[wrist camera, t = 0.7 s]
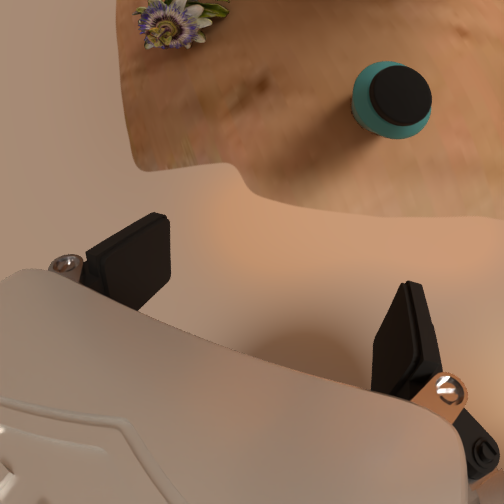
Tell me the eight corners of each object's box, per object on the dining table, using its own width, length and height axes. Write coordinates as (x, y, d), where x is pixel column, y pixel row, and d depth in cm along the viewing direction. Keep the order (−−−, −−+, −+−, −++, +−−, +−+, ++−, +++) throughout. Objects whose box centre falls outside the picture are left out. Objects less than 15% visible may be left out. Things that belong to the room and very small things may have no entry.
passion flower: (206, 49, 38) (137, 66, 33) (191, -3, 32) (121, 9, 27) (248, 29, 30) (164, 42, 25) (228, -32, 24) (144, -27, 19)
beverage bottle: (341, 96, 31) (328, 67, 14) (386, 77, 28) (419, 32, 11) (365, 141, 33) (379, 162, 16) (409, 123, 30) (467, 127, 13)
